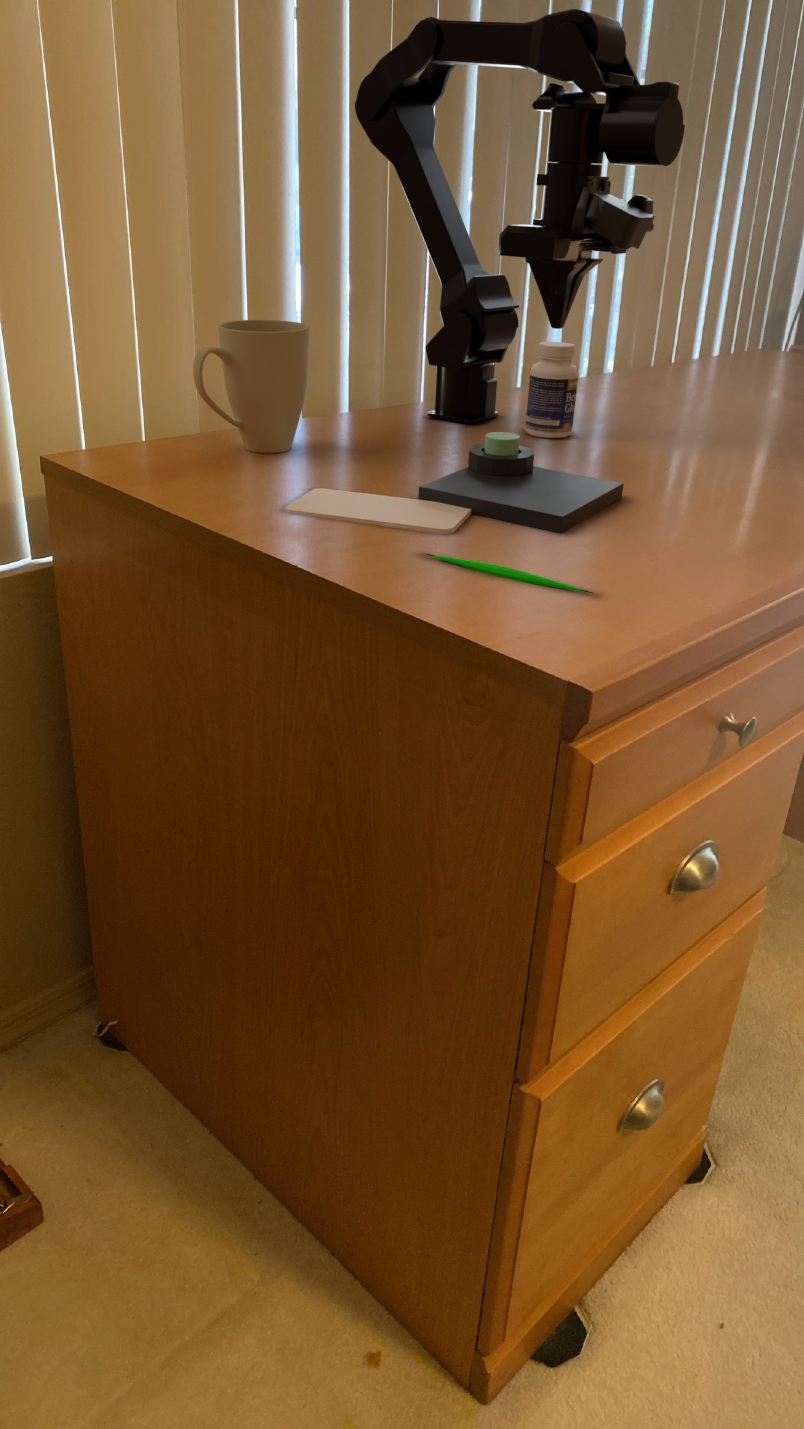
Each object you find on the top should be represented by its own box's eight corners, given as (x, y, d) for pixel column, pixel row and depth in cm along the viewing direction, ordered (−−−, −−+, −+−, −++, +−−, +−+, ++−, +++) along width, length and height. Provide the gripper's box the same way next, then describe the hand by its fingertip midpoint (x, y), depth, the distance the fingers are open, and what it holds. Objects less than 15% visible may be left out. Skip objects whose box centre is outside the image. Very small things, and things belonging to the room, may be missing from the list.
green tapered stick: (425, 556, 75) (426, 546, 75) (597, 596, 69) (599, 586, 68) (419, 560, 74) (419, 550, 74) (592, 601, 68) (594, 590, 68)
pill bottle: (570, 440, 110) (580, 348, 105) (522, 436, 111) (530, 345, 106) (572, 430, 114) (582, 341, 110) (527, 426, 115) (534, 339, 111)
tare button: (478, 454, 92) (479, 435, 91) (494, 448, 94) (495, 430, 93) (508, 460, 90) (509, 441, 90) (524, 453, 93) (525, 435, 92)
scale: (412, 500, 87) (414, 467, 86) (486, 470, 97) (488, 439, 96) (561, 533, 80) (565, 497, 79) (624, 496, 90) (628, 464, 89)
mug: (234, 434, 107) (228, 317, 102) (321, 441, 106) (320, 322, 100) (195, 457, 98) (186, 330, 92) (290, 466, 96) (287, 336, 91)
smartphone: (315, 487, 89) (474, 506, 85) (316, 495, 90) (474, 514, 85) (281, 508, 83) (450, 530, 79) (281, 517, 84) (450, 539, 79)
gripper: (609, 163, 88) (587, 345, 96) (684, 168, 102) (659, 328, 109) (502, 160, 94) (489, 333, 101) (586, 165, 107) (570, 318, 115)
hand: (557, 328), depth 106 cm, fingers closed
